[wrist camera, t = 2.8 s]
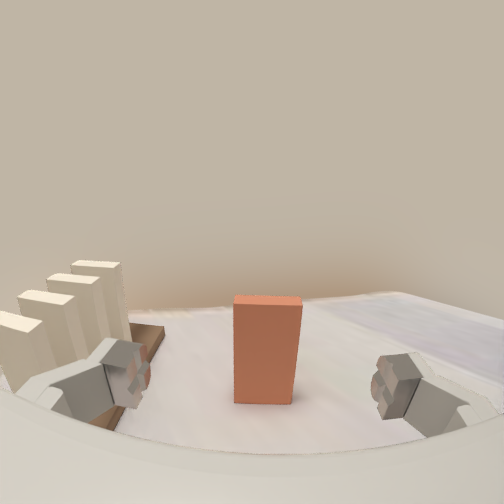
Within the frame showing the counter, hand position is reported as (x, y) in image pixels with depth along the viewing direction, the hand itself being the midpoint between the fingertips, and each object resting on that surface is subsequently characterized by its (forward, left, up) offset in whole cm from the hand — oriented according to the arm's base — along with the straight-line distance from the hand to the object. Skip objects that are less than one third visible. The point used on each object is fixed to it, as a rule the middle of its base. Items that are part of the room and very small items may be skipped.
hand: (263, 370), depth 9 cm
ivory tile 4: (+16, -11, -12) cm, 22 cm away
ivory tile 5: (+16, -15, -12) cm, 25 cm away
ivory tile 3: (+16, -7, -12) cm, 21 cm away
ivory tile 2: (+16, -3, -12) cm, 20 cm away
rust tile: (0, -12, -13) cm, 18 cm away
